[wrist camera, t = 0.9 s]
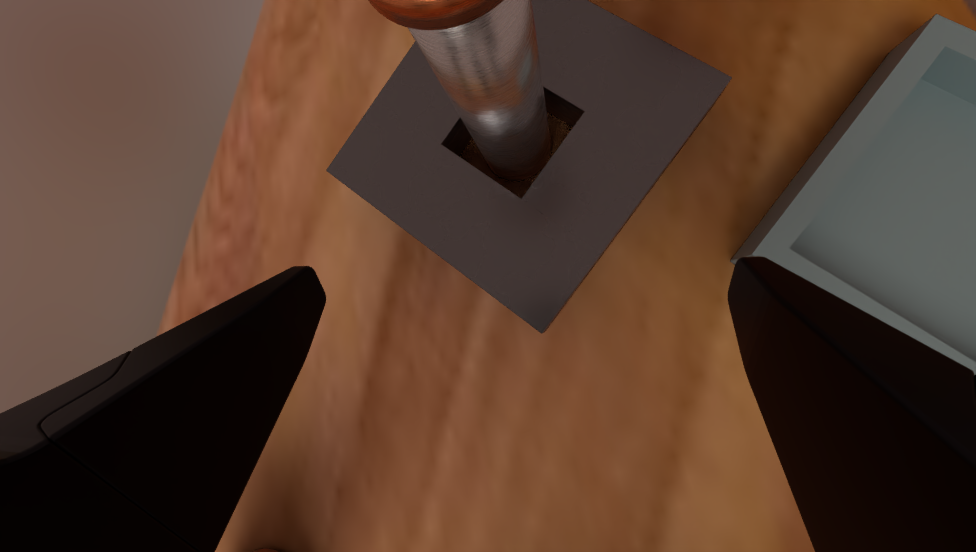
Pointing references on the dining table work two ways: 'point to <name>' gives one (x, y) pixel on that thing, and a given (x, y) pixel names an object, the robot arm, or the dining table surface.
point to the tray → (894, 196)
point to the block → (566, 177)
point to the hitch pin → (485, 74)
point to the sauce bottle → (265, 550)
